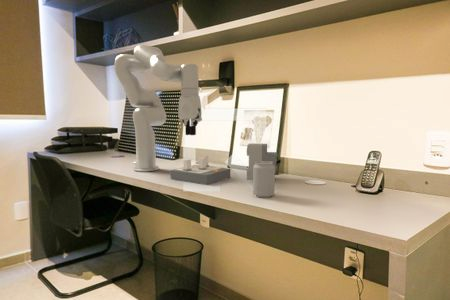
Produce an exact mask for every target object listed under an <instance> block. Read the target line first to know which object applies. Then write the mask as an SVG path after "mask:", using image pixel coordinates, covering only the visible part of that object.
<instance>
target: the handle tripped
mask: <svg viewBox="0 0 450 300" xmlns="http://www.w3.org/2000/svg"><path fill="white" fill-rule="evenodd" d="M198 165H199V168H198V169H206V168H207V167H206V158H200V157H199V158H198Z"/></svg>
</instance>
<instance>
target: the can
mask: <svg viewBox="0 0 450 300" xmlns="http://www.w3.org/2000/svg"><path fill="white" fill-rule="evenodd" d="M275 177H276V172H275V166H274V165H273V162H270V161H257V162H255V165H254V166H253V180H252V185H253V186H252V194H253V195H256V196H255V197H257V196H258V197H257V198H260V197H269V198H272V197H273V196H274V195H275V193H276V192H275V190H276V189H275V186H276V185H275V183H276V182H275V181H276V180H275ZM271 196H272V197H271Z"/></svg>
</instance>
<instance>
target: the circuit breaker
mask: <svg viewBox="0 0 450 300" xmlns="http://www.w3.org/2000/svg"><path fill="white" fill-rule="evenodd" d="M246 156H247V157H248V167H247V168H246V181H247V180H249V181H250V180H251V181H253V166H254V165H255V162H257V161H270V162H273V165H274V166H275V173H276V172H277V169H278V164H281V161H282V160H281V159H279V158H278V152H276V151H275V152H274V151H268V143H255V142H254V143H253V142H252V143H248V144H247V146H246Z"/></svg>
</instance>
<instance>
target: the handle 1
mask: <svg viewBox="0 0 450 300" xmlns="http://www.w3.org/2000/svg"><path fill="white" fill-rule="evenodd" d="M182 162H183V163H182V164H183V167H184V169H183V170H192V169H191V166H192V159H190V158H186V159H183V161H182Z"/></svg>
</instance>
